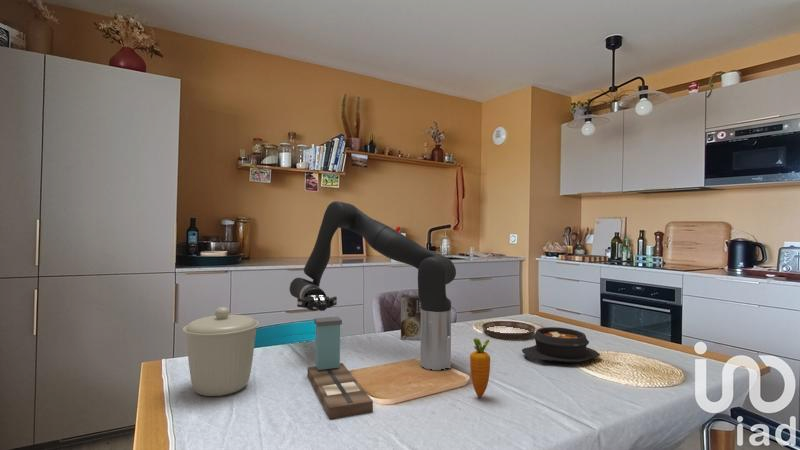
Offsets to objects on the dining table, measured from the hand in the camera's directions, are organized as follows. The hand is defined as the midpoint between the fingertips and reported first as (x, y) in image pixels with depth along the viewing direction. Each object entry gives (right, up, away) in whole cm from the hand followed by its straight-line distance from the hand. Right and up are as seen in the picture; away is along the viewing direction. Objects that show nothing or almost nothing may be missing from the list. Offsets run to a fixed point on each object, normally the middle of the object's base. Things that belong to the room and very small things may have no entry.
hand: (323, 307), depth 120 cm
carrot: (+42, -19, -19) cm, 50 cm away
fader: (+2, -15, -6) cm, 17 cm away
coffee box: (+28, -19, +36) cm, 49 cm away
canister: (-24, -18, -14) cm, 33 cm away
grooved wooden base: (+6, -18, -16) cm, 25 cm away
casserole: (+75, -19, +13) cm, 79 cm away
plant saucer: (+66, -20, +43) cm, 81 cm away
